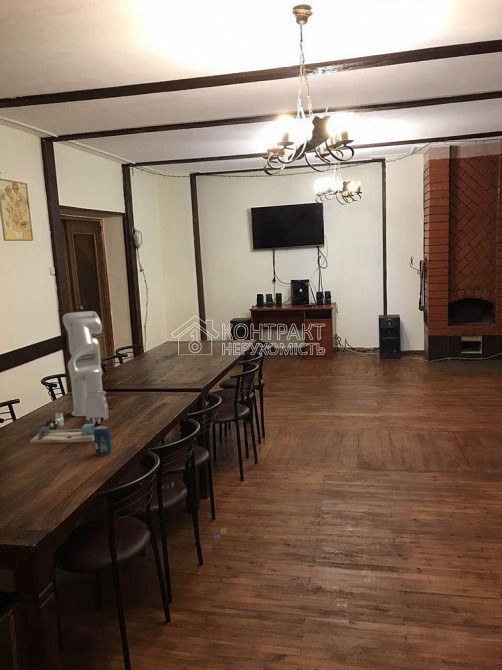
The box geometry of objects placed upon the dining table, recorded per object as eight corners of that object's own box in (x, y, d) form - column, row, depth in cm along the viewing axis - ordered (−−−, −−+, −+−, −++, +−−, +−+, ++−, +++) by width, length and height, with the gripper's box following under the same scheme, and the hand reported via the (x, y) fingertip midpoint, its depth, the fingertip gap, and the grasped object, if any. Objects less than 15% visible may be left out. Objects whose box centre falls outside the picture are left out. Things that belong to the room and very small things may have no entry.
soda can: (105, 449, 242) (103, 423, 241) (115, 452, 238) (112, 426, 236) (92, 454, 237) (90, 428, 235) (101, 457, 233) (99, 430, 231)
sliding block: (85, 431, 263) (84, 424, 263) (95, 430, 263) (95, 423, 263) (80, 436, 256) (79, 429, 255) (90, 436, 256) (89, 429, 255)
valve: (55, 424, 283) (45, 432, 271) (54, 412, 282) (43, 419, 270) (67, 424, 282) (57, 432, 270) (66, 412, 281) (56, 419, 269)
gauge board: (40, 435, 266) (39, 425, 266) (100, 432, 265) (99, 423, 265) (30, 443, 254) (28, 433, 254) (92, 441, 254) (91, 431, 253)
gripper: (112, 391, 261) (115, 427, 264) (81, 392, 262) (85, 429, 265) (108, 395, 254) (111, 432, 257) (76, 397, 254) (80, 434, 257)
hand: (98, 430), depth 261 cm, fingers closed
